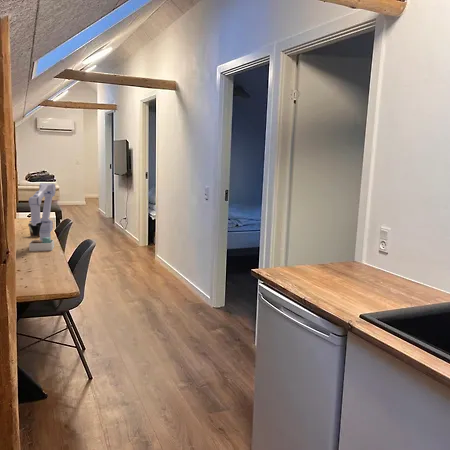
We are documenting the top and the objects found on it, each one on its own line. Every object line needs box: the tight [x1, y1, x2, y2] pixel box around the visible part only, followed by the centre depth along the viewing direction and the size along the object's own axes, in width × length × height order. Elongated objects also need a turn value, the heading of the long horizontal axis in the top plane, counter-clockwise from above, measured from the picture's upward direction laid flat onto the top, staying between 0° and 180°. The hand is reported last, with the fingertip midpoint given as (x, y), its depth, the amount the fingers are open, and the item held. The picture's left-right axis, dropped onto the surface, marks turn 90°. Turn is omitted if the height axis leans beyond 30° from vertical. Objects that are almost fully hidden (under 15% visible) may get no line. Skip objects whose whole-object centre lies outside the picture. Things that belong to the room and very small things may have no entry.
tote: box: [28, 239, 55, 252], centre depth 300 cm, size 12×14×5 cm
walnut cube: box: [32, 239, 42, 244], centre depth 300 cm, size 5×5×5 cm
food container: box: [27, 222, 40, 237], centre depth 346 cm, size 12×6×10 cm, turn 84°
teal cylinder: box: [42, 237, 51, 243], centre depth 301 cm, size 5×5×7 cm
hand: (36, 234), depth 299 cm, fingers open, 7 cm apart
